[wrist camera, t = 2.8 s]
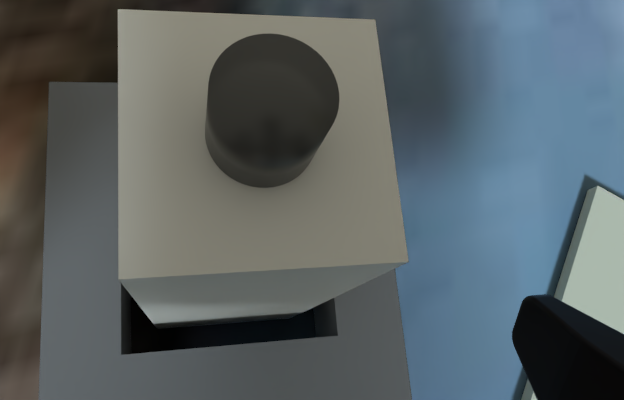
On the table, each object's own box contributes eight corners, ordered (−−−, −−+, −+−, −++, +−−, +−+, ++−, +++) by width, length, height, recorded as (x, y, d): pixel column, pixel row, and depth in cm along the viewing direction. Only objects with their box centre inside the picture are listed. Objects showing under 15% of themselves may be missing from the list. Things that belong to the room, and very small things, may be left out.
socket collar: (379, 395, 19) (412, 400, 16) (61, 432, 17) (37, 444, 14) (347, 122, 22) (370, 85, 19) (68, 122, 20) (49, 81, 17)
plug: (290, 318, 19) (448, 242, 8) (157, 328, 18) (104, 260, 7) (280, 194, 21) (405, -36, 9) (154, 198, 20) (104, -56, 8)
